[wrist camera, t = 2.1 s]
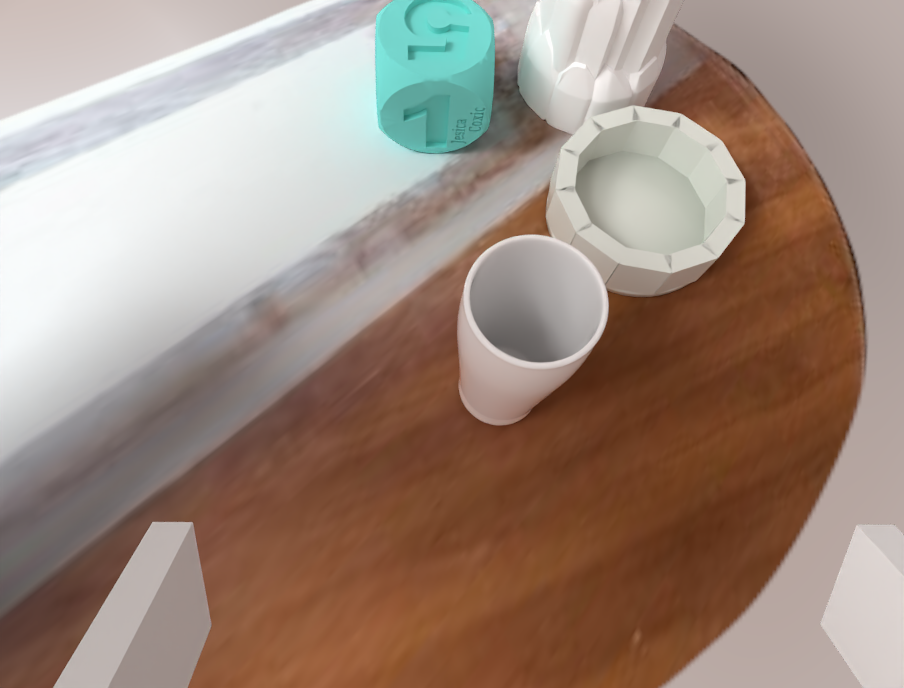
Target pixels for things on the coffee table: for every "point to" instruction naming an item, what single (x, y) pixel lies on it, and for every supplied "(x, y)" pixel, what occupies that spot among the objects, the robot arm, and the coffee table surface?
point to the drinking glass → (526, 324)
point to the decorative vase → (592, 57)
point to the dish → (646, 199)
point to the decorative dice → (434, 73)
